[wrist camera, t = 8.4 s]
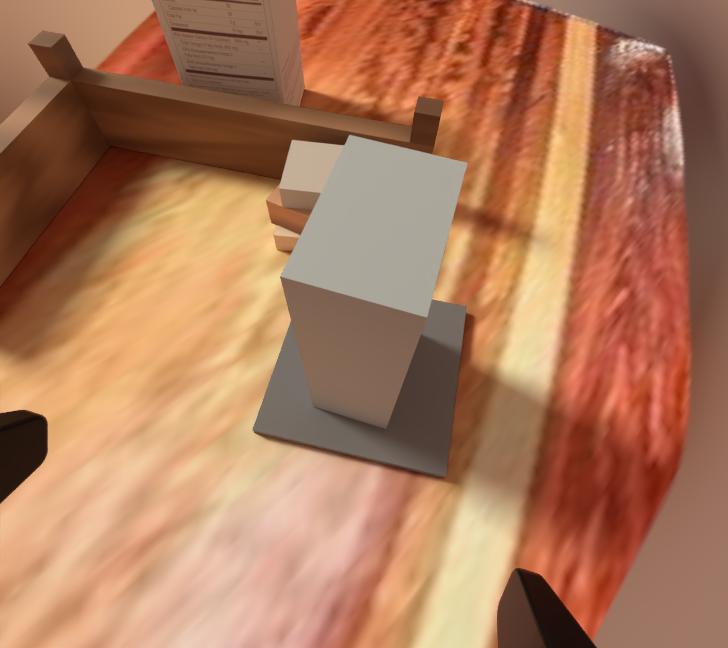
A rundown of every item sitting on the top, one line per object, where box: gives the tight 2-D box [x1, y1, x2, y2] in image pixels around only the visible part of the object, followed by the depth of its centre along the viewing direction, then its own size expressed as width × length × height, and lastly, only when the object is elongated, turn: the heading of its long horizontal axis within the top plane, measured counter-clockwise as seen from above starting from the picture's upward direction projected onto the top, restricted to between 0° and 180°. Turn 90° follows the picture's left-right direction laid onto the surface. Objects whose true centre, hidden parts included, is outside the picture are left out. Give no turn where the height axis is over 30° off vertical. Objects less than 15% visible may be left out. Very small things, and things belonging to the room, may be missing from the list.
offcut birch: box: [274, 225, 300, 251], centre depth 28 cm, size 5×5×2 cm
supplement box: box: [152, 0, 305, 107], centre depth 28 cm, size 7×7×13 cm
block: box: [280, 135, 467, 429], centre depth 17 cm, size 6×4×12 cm, turn 163°
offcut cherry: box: [266, 184, 313, 235], centre depth 26 cm, size 5×4×2 cm
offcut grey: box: [279, 140, 344, 210], centre depth 24 cm, size 4×4×2 cm
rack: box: [0, 31, 444, 287], centre depth 23 cm, size 18×26×7 cm
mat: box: [253, 300, 466, 478], centre depth 23 cm, size 10×10×1 cm
